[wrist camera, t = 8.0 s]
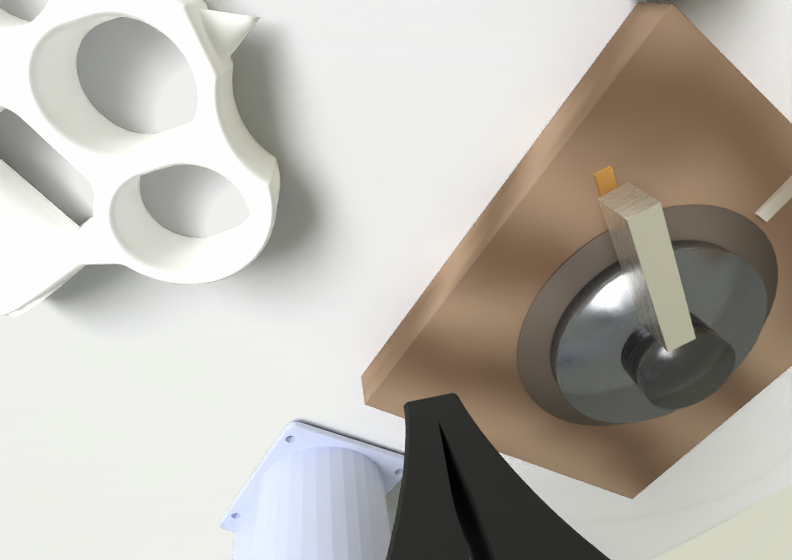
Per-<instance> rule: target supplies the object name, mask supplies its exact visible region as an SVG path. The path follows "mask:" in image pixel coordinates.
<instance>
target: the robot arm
mask: <svg viewBox="0 0 792 560" xmlns="http://www.w3.org/2000/svg"><path fill="white" fill-rule="evenodd" d="M403 407H404V413H405V425H406V437H405V455H401V454H398V453H395V452H392V451H388V450H385V449H382V448H379V447H376V446H373V445H370V444H366V443H363V442H360V441H357V440H354V439H351V438H348V437H345V436H341V435H338V434H335V433H332V432H329V431H326V430H323V429H319V428H316V427H313V426H310V425H307V424H304V423H301V422H296V421H295V422H291V423H289V424H287V425H286V427H285V428H284V430H283V431H282V433H281V434H280V435H279V437H278V438H277V440H276V441H275V443H274V444H273V445H272V447H271V448H270V450H269V451H268V453H267V454H266V456H265V457H264V458H263V460H262V461H261V463H260V464H259V466H258V467H257V468H256V470H255V471H254V473H253V474H252V476H251V477H250V479H249V480H248V481H247V483H246V484H245V486H244V487H243V489H242V490H241V491H240V493H239V494H238V496H237V497H236V499H235V500H234V502H233V503H232V504H231V506H230V507H229V509H228V510H227V512H226V513H225V514H224V516H223V517H222V519H221V524H220V526H221V528H223V529H224V530H228V531H233V532H235V537H234V544H233V551H232V558H231V560H470V559H471V560H610V559H609V558H608V557H606V556H605V555H604V554H603V553H602V552H600V551H599V550H598V549H597V548H595V547H594V546H593V545H592V544H590V543H589V542H588V541H587V540H586V539H584V538H583V537H582V536H581V535H580V534H578V533H577V532H576V531H575V530H574V529H573V528H572V527H571V526H569V525H568V524H567V523H566V522H565V521H564V520H563V519H562V518H560V517H559V516H558V515H557V514H556V513H555V512H554V511H553V510H552V509H551V508H550V507H549V506H548V505H547V504H546V503H545V502H544V501H543V500H542V499H541V498H540V497H539V496H538V495H537V494H536V493H535V492H534V491H533V490H532V489H531V488H530V487H529V486H528V485H527V484H526V483H525V482H524V481H523V480H522V479H521V478H520V476H519V475H518V474H517V473H516V472H515V471H514V470H513V469H512V468H511V467H510V465H509V464H508V463H507V462H506V461H505V460H504V458H503V457H502V456H501V455H500V454H499V452H498V451H497V450H496V449H495V448H494V446H493V445H492V444H491V443H490V441H489V440H488V439H487V438H486V436H485V435H484V434H483V432H482V431H481V430H480V428H479V427H478V426H477V424H476V423H475V422H474V420H473V419H472V417H471V416H470V414H469V413H468V411H467V410H466V408H465V407H464V405H463V403H462V402H461V400H460V398H459V397H458V395H456V394H455V393H449V394H444V395H439V396H434V397H429V398H424V399H419V400H414V401H409V402H407V403H406V404H405V405H404V406H403ZM288 436H293V437H288ZM401 479H402V482H401V488H400V494H399V500H398V507H397V512H396V517H395V522H394V527H393V531H392V536H391V532H390V525H389V518H388V511H387V504H386V496H387V495H388V493H389V492H390V491H391V490H392V489H393V488H394V487H395V486H396V484H397V483H398V482H399V481H400V480H401ZM469 556H470V557H469Z"/></svg>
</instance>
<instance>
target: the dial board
mask: <svg viewBox="0 0 792 560" xmlns="http://www.w3.org/2000/svg"><path fill="white" fill-rule="evenodd" d="M627 182H629V183H630V184H632V185H634V186H635V187H637V188H638V189H640V190H642V191H643V192H645V193H647V194H648V195H650V196H651V197H653V198H655V199H656V200H658V201H659V202H661V206H662V210H663V213H664V217H665V221H666V225H667V229H668V233H669V237H670V240H671V241H677V240H699V241H706V242H710V243H713V244H716V245H719V246H721V247H723V248H725V249H727V250H729V251H730V252H732V253H734V254H735V255H737V256H738V257H740V258H741V259H743V260H745V261H746V262H747V263H749V264H750V265H751V266H752V267H753V268H754V269H755V270H756V271H757V272H758V274H759V275H760V276H761V279H762V281H763V283H764V285H765V289H766V293H767V311H766V317H765V321H764V324H763V328H762V330H761V332H760V335H759V337H758V339H757V341H756V343H755V344H754V346H753V348H752V349H751V351H750V352H749V354H748V355H747V357H746V358H745V359H744V360H743V362H742V363H741V364H740V365H739V366H738V368H737V369H736V370H735V371H734V372H733V373H732V374H731V375H730V376H729V378H728V379H727V381H726V382H725V383H724V384H723V385H722V386H721V387H720V388H719V389H718V390H717V391H716V392H714V393H713V394H712V395H710V396H709V397H707V398H706V399H704V400H702V401H700V402H698V403H696V404H694V405H691V406H688V407H684V408H682V409H679V410H677V411H675V412H672V413H670V414H667V415H664V416H661V417H658V418H654V419H650V420H646V421H640V422H634V423H610V422H604V421H599V420H596V419H593V418H590V417H588V416H586V415H584V414H582V413H581V412H579V411H578V410H576V409H575V408H574V407H573V406H572V405H571V404H570V403H569V402H568V400H567V399H566V397H565V396H564V394H563V392H562V391H561V389H560V388H559V386H558V384H557V383H556V381H555V379H554V377H553V374H552V371H551V366H550V347H551V341H552V337H553V334H554V331H555V328H556V326H557V324H558V322H559V319H560V318H561V316H562V314H563V313H564V311H565V309H566V308H567V306H568V305H569V304H570V302H571V301H572V300H573V298H574V297H575V296H576V295H577V294H578V293H579V291H580V290H581V289H582V288H583V287H584V286H585V285H586V284H587V283H588V282H589V281H591V280H592V279H593V278H594V277H595V276H596V275H597V274H599V273H600V272H602V271H603V270H604V269H606V268H607V267H609V266H610V265H611V264H613V263H615V262H617V261H618V257H617V254H616V251H615V248H614V245H613V242H612V239H611V236H610V233H609V230H608V227H607V224H606V221H605V219H604V216H603V213H602V210H601V207H600V204H599V201H598V198H599V197H601V196H603V195H605V194H607V193H608V192H610V191H612V190H614V189H616V188H617V187H619V186H621V185H623V184H625V183H627ZM791 366H792V124H791V123H790V122H789V121H788V120H787V119H786V118H785V117H784V116H783V115H782V114H781V113H780V112H779V111H778V110H777V109H776V108H775V107H774V106H773V105H772V104H771V103H770V102H769V100H768V99H767V98H766V97H765V96H764V95H763V94H762V93H761V92H760V91H759V90H758V89H757V88H756V87H755V86H754V85H753V84H752V83H751V82H750V81H749V80H748V79H747V78H746V77H745V76H744V75H743V74H742V73H741V72H740V71H739V70H738V69H737V68H736V67H735V66H734V65H733V64H732V63H731V62H730V61H729V60H728V59H727V58H726V57H725V56H724V55H723V54H722V53H721V52H720V51H719V50H718V49H717V48H716V47H715V46H714V45H713V44H712V43H711V42H710V41H709V40H708V39H707V38H706V37H705V36H704V35H703V34H702V33H701V32H700V31H699V30H698V29H697V28H696V27H695V26H694V25H693V24H692V23H691V22H690V21H689V20H688V19H687V18H686V17H685V16H684V15H683V14H682V13H681V12H680V11H679V10H678V9H677V8H676V7H675V6H674V5H673V4H667V3H645V2H638V4H637V5H636V6H635V8H634V9H633V10H632V12H631V13H630V14H629V16H628V17H627V18H626V20H625V21H624V22H623V24H622V25H621V26H620V28H619V29H618V31H617V32H616V33H615V35H614V36H613V37H612V39H611V40H610V41H609V43H608V44H607V45H606V47H605V48H604V49H603V51H602V52H601V53H600V55H599V56H598V58H597V59H596V60H595V62H594V63H593V64H592V66H591V67H590V68H589V70H588V71H587V72H586V74H585V75H584V76H583V78H582V79H581V80H580V82H579V83H578V85H577V86H576V87H575V89H574V90H573V91H572V93H571V94H570V95H569V97H568V98H567V99H566V101H565V102H564V103H563V105H562V106H561V107H560V109H559V110H558V112H557V113H556V114H555V116H554V117H553V118H552V120H551V121H550V122H549V124H548V125H547V126H546V128H545V129H544V130H543V132H542V133H541V135H540V136H539V137H538V139H537V140H536V141H535V143H534V144H533V145H532V147H531V148H530V149H529V151H528V152H527V153H526V155H525V156H524V157H523V159H522V160H521V162H520V163H519V164H518V166H517V167H516V168H515V170H514V171H513V172H512V174H511V175H510V176H509V178H508V179H507V180H506V182H505V183H504V184H503V186H502V187H501V189H500V190H499V191H498V193H497V194H496V195H495V197H494V198H493V199H492V201H491V202H490V203H489V205H488V206H487V207H486V209H485V210H484V211H483V213H482V214H481V216H480V217H479V218H478V220H477V221H476V222H475V224H474V225H473V226H472V228H471V229H470V230H469V232H468V233H467V234H466V236H465V237H464V238H463V240H462V241H461V243H460V244H459V245H458V247H457V248H456V249H455V251H454V252H453V253H452V255H451V256H450V257H449V259H448V260H447V261H446V263H445V264H444V265H443V267H442V268H441V270H440V271H439V272H438V274H437V275H436V276H435V278H434V279H433V280H432V282H431V283H430V284H429V286H428V287H427V288H426V290H425V291H424V293H423V294H422V295H421V297H420V298H419V299H418V301H417V302H416V303H415V305H414V306H413V307H412V309H411V310H410V311H409V313H408V314H407V315H406V317H405V318H404V320H403V321H402V322H401V324H400V325H399V326H398V328H397V329H396V330H395V332H394V333H393V334H392V336H391V337H390V338H389V340H388V341H387V342H386V344H385V345H384V347H383V348H382V349H381V351H380V352H379V353H378V355H377V356H376V357H375V359H374V360H373V361H372V363H371V364H370V365H369V367H368V368H367V369H366V371H365V372H364V374H363V375H362V376H361V377H362V385H363V393H364V401H365V405H368V406H371V407H374V408H377V409H379V410H382V411H385V412H388V413H391V414H394V415H396V416H399V417H402V418H405V413H404V407H403V406H404V405H405V404H406V403H407V402H409V401H414V400H419V399H424V398H429V397H434V396H439V395H444V394H449V393H455V394H456V395H458V397H459V398H460V400H461V402H462V403H463V405H464V407H465V408H466V410H467V411H468V413H469V414H470V416H471V417H472V419H473V420H474V422H475V423H476V424H477V426H478V427H479V428H480V430H481V431H482V432H483V434H484V435H485V436H486V438H487V439H488V440H489V441H490V443H491V444H492V445H493V446H494V448H495V449H496V450H497V451H498V452H501V453H504V454H506V455H509V456H512V457H515V458H518V459H521V460H523V461H526V462H529V463H532V464H535V465H537V466H540V467H543V468H546V469H549V470H552V471H554V472H557V473H560V474H563V475H566V476H568V477H571V478H574V479H577V480H580V481H583V482H585V483H588V484H591V485H594V486H597V487H600V488H602V489H605V490H608V491H611V492H614V493H616V494H619V495H622V496H625V497H628V498H631V499H633V498H634V497H635V496H636V495H638V494H639V493H640V492H641V491H642V490H644V489H645V488H646V487H647V486H648V485H650V484H651V483H652V482H653V481H654V480H655V479H657V478H658V477H659V476H660V475H661V474H663V473H664V472H665V471H666V470H667V469H669V468H670V467H671V466H672V465H673V464H675V463H676V462H677V461H678V460H679V459H681V458H682V457H683V456H684V455H685V454H687V453H688V452H689V451H690V450H691V449H693V448H694V447H695V446H696V445H697V444H699V443H700V442H701V441H702V440H703V439H705V438H706V437H707V436H708V435H709V434H711V433H712V432H713V431H714V430H715V429H716V428H718V427H719V426H720V425H721V424H722V423H724V422H725V421H726V420H727V419H728V418H730V417H731V416H732V415H733V414H734V413H736V412H737V411H738V410H739V409H740V408H742V407H743V406H744V405H745V404H746V403H748V402H749V401H750V400H751V399H752V398H754V397H755V396H756V395H757V394H758V393H760V392H761V391H762V390H763V389H764V388H766V387H767V386H768V385H769V384H770V383H771V382H773V381H774V380H775V379H776V378H777V377H779V376H780V375H781V374H782V373H783V372H785V371H786V370H787V369H788V368H789V367H791Z"/></svg>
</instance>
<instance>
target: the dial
mask: <svg viewBox="0 0 792 560" xmlns="http://www.w3.org/2000/svg"><path fill="white" fill-rule="evenodd" d="M598 201H599V204H600V207H601V210H602V213H603V216H604V219H605V221H606V224H607V227H608V230H609V233H610V236H611V239H612V242H613V245H614V248H615V251H616V254H617V257H618V261H617V262H615V263H613V264H611V265H610V266H609V267H607V268H606V269H604V270H603V271H602V272H600V273H599V274H597V275H596V276H595V277H594V278H593V279H592V280H591V281H589V282H588V283H587V284H586V285H585V286H584V287H583V288H582V289H581V290H580V291H579V293H578V294H577V295H576V296H575V297H574V298H573V300H572V301H571V302H570V304H569V305H568V306H567V308H566V309H565V311H564V313H563V314H562V316H561V318H560V319H559V322H558V324H557V326H556V328H555V331H554V334H553V337H552V341H551V347H550V366H551V371H552V374H553V377H554V379H555V381H556V383H557V384H558V386H559V388H560V389H561V391H562V392H563V394H564V396H565V397H566V399H567V400H568V402H569V403H570V404H571V405H572V406H573V407H574V408H575V409H576V410H578V411H579V412H581V413H582V414H584V415H586V416H588V417H590V418H593V419H596V420H599V421H604V422H610V423H634V422H640V421H646V420H650V419H654V418H658V417H661V416H664V415H667V414H670V413H672V412H675V411H677V410H679V409H682V408H684V407H688V406H691V405H694V404H696V403H698V402H700V401H702V400H704V399H706V398H707V397H709V396H710V395H712V394H713V393H714V392H716V391H717V390H718V389H719V388H720V387H721V386H722V385H723V384H724V383H725V382H726V381H727V379H728V378H729V376H730V375H731V374H732V373H733V372H734V371H735V370H736V369H737V368H738V366H739V365H740V364H741V363H742V362H743V360H744V359H745V358H746V357H747V355H748V354H749V352H750V351H751V349H752V348H753V346H754V344H755V343H756V341H757V339H758V337H759V335H760V332H761V330H762V328H763V324H764V321H765V317H766V311H767V293H766V289H765V285H764V283H763V281H762V279H761V276H760V275H759V274H758V272H757V271H756V270H755V269H754V268H753V267H752V266H751V265H750V264H749V263H747V262H746V261H745V260H743V259H741V258H740V257H738V256H737V255H735V254H734V253H732V252H730V251H729V250H727V249H725V248H723V247H721V246H719V245H716V244H713V243H710V242H706V241H699V240H677V241H671V240H670V237H669V233H668V229H667V225H666V221H665V217H664V213H663V210H662V206H661V202H659V201H658V200H656V199H655V198H653V197H651V196H650V195H648V194H647V193H645V192H643V191H642V190H640V189H638V188H637V187H635V186H634V185H632V184H630V183H629V182H627V183H625V184H623V185H621V186H619V187H617V188H616V189H614V190H612V191H610V192H608V193H607V194H605V195H603V196H601V197H599V198H598Z"/></svg>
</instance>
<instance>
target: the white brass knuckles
mask: <svg viewBox="0 0 792 560" xmlns="http://www.w3.org/2000/svg"><path fill="white" fill-rule="evenodd" d="M118 17H128V18H133V19H136V20H139V21H142V22H144V23H146V24H149V25H150V26H152V27H154V28H156V29H157V30H159V31H160V32H162V33H163V34H164V35H166V36H167V37H168V38H169V39H170V40H171V41H172V42H173V43H174V44H175V45H176V46H177V47H178V48H179V49H180V51H181V52H182V53H183V55H184V56H185V58H186V59H187V61H188V63H189V64H190V66H191V69H192V71H193V73H194V76H195V79H196V83H197V89H198V107H197V111H196V115H195V118H194V120H193V121H192V122H190V123H187V124H185V125H182V126H179V127H176V128H173V129H170V130H167V131H163V132H160V133H154V134H142V133H136V132H132V131H128V130H125V129H123V128H121V127H119V126H117V125H115V124H113V123H112V122H110V121H109V120H107V119H106V118H105V117H103V116H102V115H101V114H100V113H99V112H98V111H97V110H96V109H95V108H94V107H93V106H92V104H91V103H90V102H89V100H88V99H87V97H86V96H85V94H84V92H83V90H82V88H81V85H80V82H79V79H78V75H77V69H76V58H77V52H78V49H79V46H80V43H81V41H82V40H83V38H84V37H85V35H86V34H87V33H88V32H89V31H90V30H91V29H93V28H94V27H95V26H97V25H99V24H101V23H103V22H106V21H109V20H112V19H115V18H118ZM259 19H260V18H259V17H253V16H246V15H240V14H233V13H227V12H220V11H214V10H209V8H208V6H207V4H206V2H205V1H204V0H49V1H48V3H47V5H46V7H45V8H44V10H43V11H42V12H41V14H40V15H39V16H38V17H37V18H36V19H34V20H33V21H32V22H30V21H26V20H23V19H20V18H18V17H15V16H13V15H11V14H9V13H7V12H6V11H4V10H2V9H1V8H0V112H1V111H3V110H4V109H5V108H6V109H9V110H11V111H12V112H14V113H16V114H17V115H18V116H20V117H21V118H22V119H23V120H24V121H25V122H26V123H27V124H28V125H29V126H30V127H31V128H33V129H34V130H35V131H36V132H37V133H38V134H39V135H40V136H41V137H42V138H43V139H44V140H45V141H47V142H48V143H49V144H50V145H51V146H52V147H53V148H54V149H55V150H56V151H57V152H58V153H59V154H61V155H62V156H63V157H64V158H65V159H66V160H67V161H68V162H69V163H70V164H71V165H72V166H73V167H75V168H76V169H77V170H78V171H79V172H80V173H81V174H82V175H83V176H84V177H85V178H86V179H87V180H88V181H89V182H90V183H91V185H92V187H93V189H94V193H95V198H94V205H93V213H94V216H92V217H91V218H89V219H88V220H87V221H85V222H84V223H83V224H81V225H80V226H78V225H77V224H76V223H75V222H73V221H72V220H71V219H70V218H69V217H68V216H67V215H65V214H64V213H63V212H62V211H61V210H60V209H58V208H57V207H56V206H55V205H54V204H53V203H51V202H50V201H49V200H48V199H47V198H46V197H44V196H43V195H42V194H41V193H40V192H39V191H38V190H36V189H35V188H34V187H33V186H32V185H31V184H29V183H28V182H27V181H26V180H25V179H24V178H22V177H21V176H20V175H19V174H18V173H17V172H15V171H14V170H13V169H12V168H11V167H10V166H9V165H7V164H6V163H5V162H4V161H3V160H2V159H0V315H2V316H5V315H10V316H11V317H13V318H15V317H17V316H19V315H21V314H23V313H24V312H26V311H28V310H29V309H31V308H32V307H34V306H35V305H37V304H38V303H39V302H41V301H42V300H43V299H45V298H46V297H47V296H49V295H50V294H51V293H53V292H54V291H55V290H57V289H58V288H59V287H60V286H62V285H63V284H64V283H65V282H67V281H68V280H69V279H70V278H71V277H73V276H74V275H75V274H76V273H77V272H79V271H80V270H81V269H82V268H83V267H84V266H86V265H92V264H121V265H125V266H127V267H129V268H131V269H132V270H134V271H136V272H138V273H141V274H143V275H145V276H148V277H151V278H154V279H157V280H160V281H165V282H170V283H176V284H203V283H210V282H214V281H218V280H221V279H224V278H227V277H229V276H232V275H234V274H236V273H237V272H239V271H241V270H242V269H244V268H245V267H247V266H248V265H249V264H250V263H252V262H253V261H254V260H255V259H256V258H257V256H258V255H259V254H260V253H261V252H262V250H263V249H264V247H265V246H266V244H267V242H268V240H269V238H270V236H271V233H272V230H273V227H274V223H275V217H276V211H277V205H278V199H279V192H280V172H279V167H278V162H277V159H276V158H275V157H274V156H273V155H271V154H270V153H268V152H267V151H266V150H265V149H264V148H262V147H261V146H260V145H259V144H258V143H257V142H256V140H255V139H254V138H253V137H252V136H251V134H250V133H249V131H248V130H247V128H246V127H245V125H244V123H243V121H242V119H241V117H240V115H239V112H238V109H237V106H236V103H235V99H234V93H233V67H234V63H233V61H232V59H231V57H230V56H231V55H232V53H233V52H234V51H235V50H236V48H237V47H238V46H239V44H240V43H241V42H242V41H243V39H244V38H245V37H246V35H247V34H248V33H249V32H250V30H251V29H252V28H253V26H254V25H255V24H256V23H257V21H258V20H259ZM174 165H196V166H201V167H205V168H208V169H210V170H213V171H215V172H217V173H219V174H221V175H222V176H224V177H225V178H227V179H228V180H229V181H230V182H232V183H233V184H234V185H235V186H236V187H237V189H238V190H239V191H240V192H241V194H242V195H243V197H244V199H245V200H246V203H247V205H248V208H249V212H250V217H249V218H248V219H247V220H246V221H245V222H244V223H242V224H241V225H239V226H238V227H236V228H233V229H231V230H228V231H225V232H221V233H218V234H215V235H212V236H208V237H201V238H193V237H186V236H182V235H178V234H176V233H173V232H171V231H169V230H167V229H166V228H164V227H163V226H161V225H160V224H159V223H157V222H156V221H155V220H154V219H153V218H152V217H151V215H150V214H149V213H148V211H147V210H146V208H145V206H144V204H143V201H142V199H141V195H140V178H141V176H142V175H145V174H148V173H151V172H154V171H157V170H160V169H163V168H166V167H170V166H174Z"/></svg>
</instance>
